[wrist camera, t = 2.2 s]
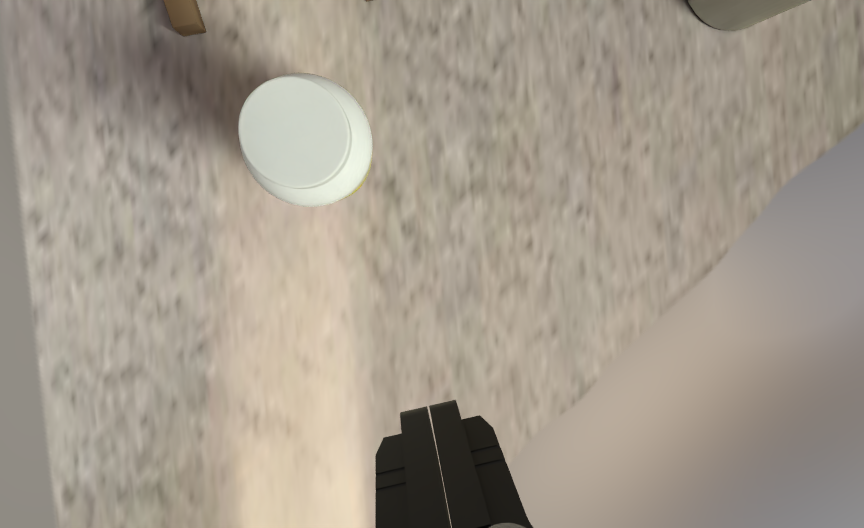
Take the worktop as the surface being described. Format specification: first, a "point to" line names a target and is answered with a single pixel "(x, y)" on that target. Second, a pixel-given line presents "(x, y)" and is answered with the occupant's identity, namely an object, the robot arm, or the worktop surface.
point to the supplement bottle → (305, 139)
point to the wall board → (186, 16)
